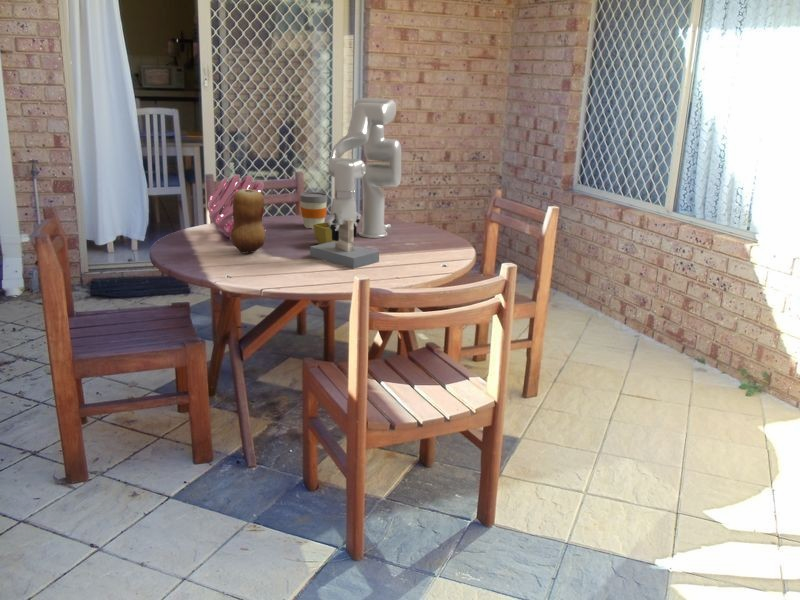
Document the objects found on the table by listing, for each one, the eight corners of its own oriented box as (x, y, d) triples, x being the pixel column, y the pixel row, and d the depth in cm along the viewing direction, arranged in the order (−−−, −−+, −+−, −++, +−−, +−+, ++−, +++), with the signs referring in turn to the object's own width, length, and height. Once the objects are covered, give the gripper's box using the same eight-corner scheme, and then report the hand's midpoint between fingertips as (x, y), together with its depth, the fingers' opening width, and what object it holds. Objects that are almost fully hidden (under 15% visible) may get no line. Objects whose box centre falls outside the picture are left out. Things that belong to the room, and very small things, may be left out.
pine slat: (340, 256, 291) (340, 217, 286) (353, 260, 286) (353, 219, 281) (335, 258, 288) (335, 218, 283) (347, 261, 284) (348, 220, 279)
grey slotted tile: (335, 250, 300) (335, 240, 298) (378, 261, 285) (379, 251, 284) (310, 256, 290) (310, 246, 288) (353, 268, 275) (353, 258, 274)
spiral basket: (289, 187, 325) (235, 152, 315) (282, 215, 301) (224, 178, 292) (256, 233, 336) (203, 200, 327) (247, 263, 313) (190, 229, 303)
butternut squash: (263, 256, 288) (261, 193, 280) (229, 256, 287) (225, 192, 279) (267, 247, 301) (265, 187, 293) (234, 247, 300) (231, 186, 292)
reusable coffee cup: (323, 230, 333) (322, 197, 328) (296, 228, 335) (296, 196, 330) (331, 224, 344) (330, 193, 340) (305, 223, 347) (305, 191, 342)
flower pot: (324, 249, 301) (324, 227, 298) (312, 245, 307) (312, 223, 304) (342, 246, 306) (342, 225, 303) (330, 242, 313) (330, 221, 310)
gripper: (353, 190, 288) (353, 233, 293) (320, 195, 275) (321, 240, 281) (367, 193, 283) (366, 236, 289) (334, 198, 271) (335, 243, 276)
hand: (344, 238), depth 285 cm, fingers open, 9 cm apart
